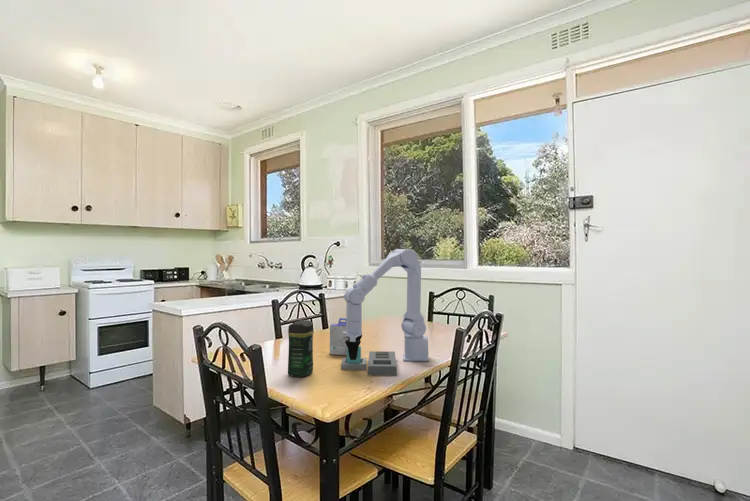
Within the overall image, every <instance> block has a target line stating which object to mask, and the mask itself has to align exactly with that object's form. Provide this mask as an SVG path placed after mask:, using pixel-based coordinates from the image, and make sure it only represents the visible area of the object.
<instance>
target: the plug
mask: <svg viewBox="0 0 750 501" xmlns="http://www.w3.org/2000/svg"><path fill="white" fill-rule="evenodd" d="M346 358H347V363H361V358H362V347H361V345H359V347H358V352H357V358H356V360H350V357H349V351H348V348H347V355H346Z"/></svg>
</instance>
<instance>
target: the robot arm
mask: <svg viewBox="0 0 750 501" xmlns="http://www.w3.org/2000/svg"><path fill="white" fill-rule="evenodd" d="M395 267H401V268H402V269H403V270H404V271H405V272H406V275H407V279H406V281H407V282H406V312H405V313H404V314H403V319H402V322H401V330H402V331H403V333H404V334H403V335H404V339H403V340H404V341H403V342H404V344H403V345H404V346H403V347H404V354H402V356H403V361H405V362H412V361H413V362H414V361H415V362H416V361H417V362H418V361H419V362H428V361H429V339H428V338H429V337H428V336H427V335H426V334H425V333H426V331H427V327H426V324H425V318H424V315H423V314H422V313H421V301H422V300H421V298H422V297H421V293H422V288H421V287H422V286H421V285H422V267H421V264H420V262H419V260H418V254H417V253H416V252H415V251H414V250H413V249H411V248H406V249H405V248H396V249H393V250H392V252H390V253H389V254H388V255H387V256H386V257H385V259H384V260H383V261H382V262H381V263H380V264H379V265H378V266H377V267H376V268H375V269H374V270H373V271H372V272H371V273H366V274H362V275H361V279H359V280H358V281H357V282H356V283H353V284H352V287H349V288H347V289H346V290H345V293H344V295H343V299H344V301H346V308H345V309H346V311H345V312H346V313H345V315H346V316H345V318H346V321H345V322H346V332H343V334H346V335H347V337H348V339H349V340H345V343H346V345H347V348H348V351H349V357H350V360H356V358H357V352H358V347H359V346H361V342H362V341H361V340H362V337H363V330H362V328H363V326H362V325H363V324H362V322H363V320H362V318H363V317H362V316H363V314H362V312H363V310H362V307H363V306H362V305H363V304H362V303H363V302H364V301H365V298H366V296H367V295H368V294H369V293H370V292H371V291H372V290H373V289H374V288H375V287H376V286H377V285H378V280H380V278H382V277H383V276H384V275H385V274H386V273H387V272H388V271H390V270H391V269H392V268H395ZM424 335H425V336H424Z"/></svg>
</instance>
